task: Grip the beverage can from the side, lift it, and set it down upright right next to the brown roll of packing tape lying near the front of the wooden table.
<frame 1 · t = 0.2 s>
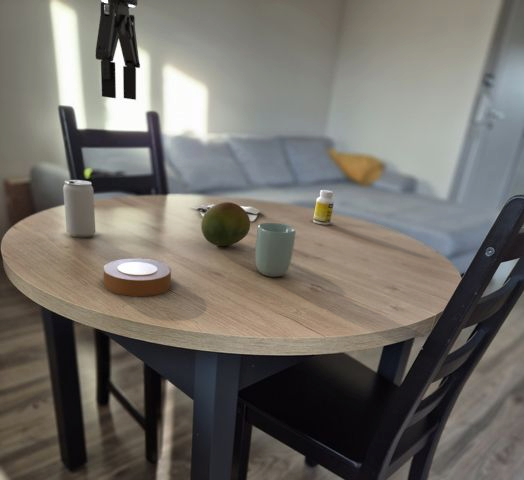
hand: (119, 98, 106), 29 cm above the table, tool pointing down, fingers open, 13 cm apart
tape roll: (137, 284, 90), on the table
fruit: (224, 245, 119), on the table
beverage can: (81, 235, 113), on the table
cup: (271, 274, 103), on the table
supplement bottle: (321, 223, 152), on the table
cloth: (226, 213, 150), on the table
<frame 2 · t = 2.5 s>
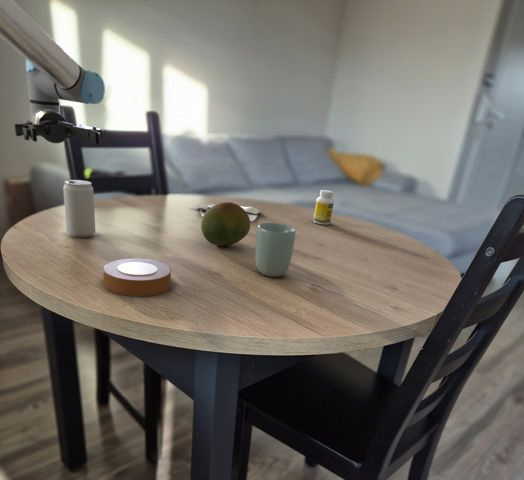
hand: (66, 136, 111), 20 cm above the table, tool horizontal, fingers open, 13 cm apart
nothing on the table moved.
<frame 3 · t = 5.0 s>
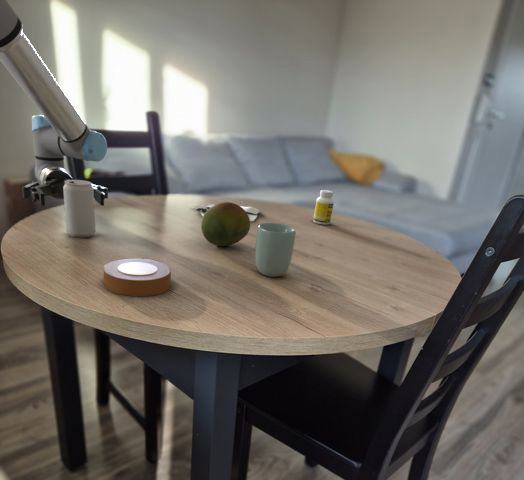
hand: (73, 199, 115), 7 cm above the table, tool horizontal, fingers open, 13 cm apart
nothing on the table moved.
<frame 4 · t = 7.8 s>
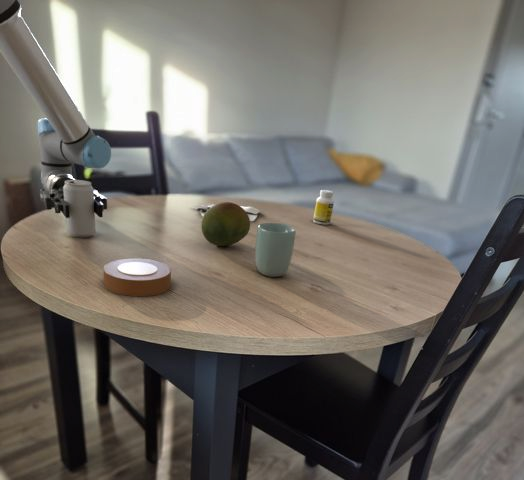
hand: (84, 211, 107), 7 cm above the table, tool horizontal, fingers closed on beverage can, 6 cm apart
beverage can: (81, 235, 113), on the table, touching gripper
everything else where it was.
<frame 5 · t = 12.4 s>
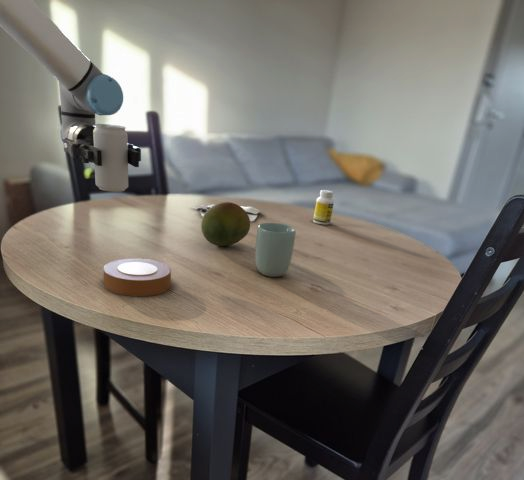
hand: (118, 159, 91), 20 cm above the table, tool horizontal, fingers closed on beverage can, 6 cm apart
beverage can: (112, 190, 98), point 13 cm above the table, touching gripper
everything else where it was.
when the fingers open (7 cm above the table, at t = 17.2 s): beverage can stays where it is, on the table.
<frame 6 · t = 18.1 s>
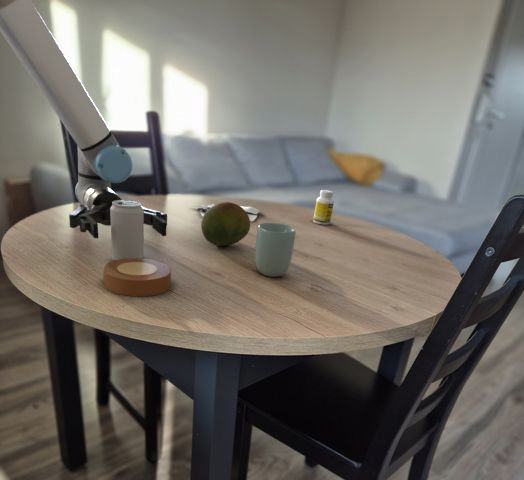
hand: (131, 230, 95), 7 cm above the table, tool horizontal, fingers open, 13 cm apart
beverage can: (128, 261, 101), on the table
everything else where it was.
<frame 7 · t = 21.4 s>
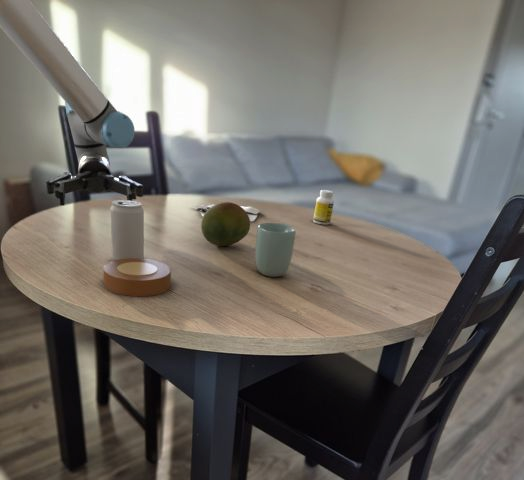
hand: (96, 199, 100), 11 cm above the table, tool horizontal, fingers open, 13 cm apart
nothing on the table moved.
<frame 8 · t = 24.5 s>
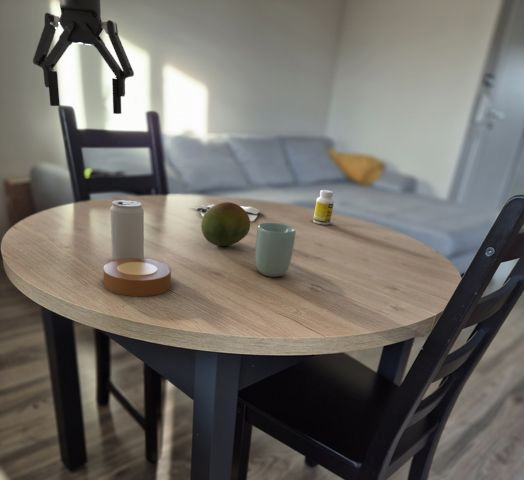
hand: (86, 109, 103), 27 cm above the table, tool pointing down, fingers open, 13 cm apart
nothing on the table moved.
at the end: beverage can 13.4 cm from the tape roll (horizontally); beverage can tilted 0°; the gripper is holding nothing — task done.
